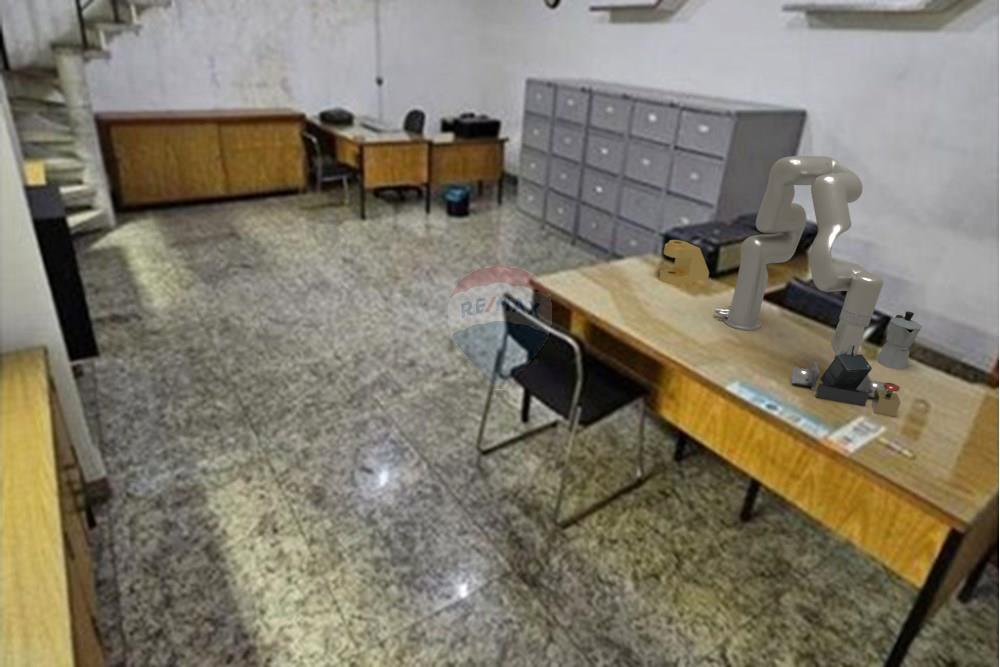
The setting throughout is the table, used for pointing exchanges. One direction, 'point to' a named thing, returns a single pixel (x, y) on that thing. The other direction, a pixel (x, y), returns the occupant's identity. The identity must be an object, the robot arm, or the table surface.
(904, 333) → the coffee maker
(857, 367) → the box
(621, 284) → the table surface
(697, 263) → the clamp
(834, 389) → the dark grey bracket shape
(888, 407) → the valve
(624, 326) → the table surface
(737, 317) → the robot arm
